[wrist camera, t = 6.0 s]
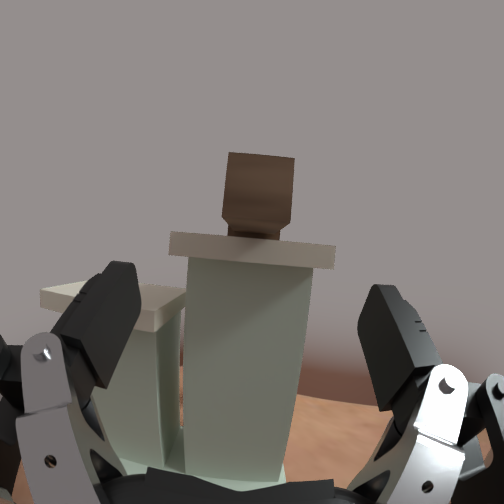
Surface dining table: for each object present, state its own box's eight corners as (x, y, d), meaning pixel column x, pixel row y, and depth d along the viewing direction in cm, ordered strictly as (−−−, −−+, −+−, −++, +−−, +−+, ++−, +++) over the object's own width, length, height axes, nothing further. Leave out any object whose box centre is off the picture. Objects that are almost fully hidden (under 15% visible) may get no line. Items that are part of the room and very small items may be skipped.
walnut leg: (235, 241, 36) (238, 206, 36) (269, 244, 36) (272, 210, 36) (210, 225, 14) (220, 143, 14) (299, 233, 14) (304, 150, 14)
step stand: (111, 416, 38) (105, 231, 38) (277, 442, 38) (303, 247, 38) (71, 463, 23) (43, 222, 23) (286, 505, 23) (335, 245, 23)
